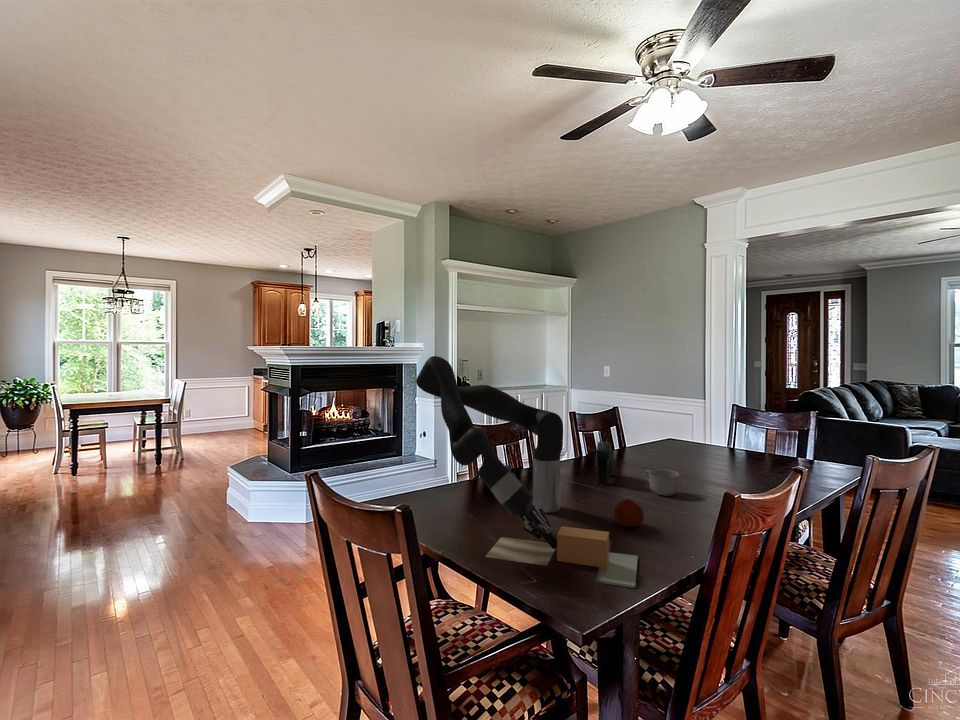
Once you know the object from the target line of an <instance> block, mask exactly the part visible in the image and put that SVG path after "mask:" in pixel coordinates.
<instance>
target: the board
mask: <svg viewBox="0 0 960 720" xmlns="http://www.w3.org/2000/svg"><path fill="white" fill-rule="evenodd" d="M556 550H557V548H555V549H553V548H552V547H551V546H550V545H549V544H548V543H547V542H542V541H535V540H527V539H521V538H513V537H506V536H505V537H503V536H501V537H500V538H499V539H498V540H497V541H496V543H495V544H494V545H493V546H492V547H491V549H490V550H489V551H488V552H487V554H485V558H488V559H489V558H491V559H497V560H503V561H511V562H518V563H524V564H531V565H538V566H546V567H548V565H549V563H550V561H551V560H552V558H553V555H554V553H555V552H556Z"/></svg>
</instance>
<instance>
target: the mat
mask: <svg viewBox="0 0 960 720" xmlns="http://www.w3.org/2000/svg"><path fill="white" fill-rule="evenodd" d="M638 560H639V559H638V555H633V554H625V553H618V552H610V551H609V563H608V568H607V572H606V571H600V570H599V569H598V570H597V574H596V578H595V583H598V584H599V583H600V584H604V585H610V586H611V585H613V586H618V587H619V586H620V587H625V588H631V589H636V584H637V583H636V580H637V571H638Z"/></svg>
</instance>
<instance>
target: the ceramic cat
mask: <svg viewBox="0 0 960 720" xmlns="http://www.w3.org/2000/svg"><path fill="white" fill-rule="evenodd" d="M606 436H607V432H604V434H603V441H598V442H597V445H596V453H595V464H596V469H597V483H598V485H600V484H606V485H605V486H607V485H608V484H609V477H611V476H612V469H613V459H614V455H613V446H612V444H611V442H610V439H609V438H606V439H605V437H606Z"/></svg>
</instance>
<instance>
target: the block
mask: <svg viewBox="0 0 960 720" xmlns="http://www.w3.org/2000/svg"><path fill="white" fill-rule="evenodd" d="M556 538H557V548H556V561H557V562H564V563H568V564H569V563H570V564H576V565H583V566H591V567H596V568H598V570H600V571H606V572H607V568H608V563H609V552H610V531H604V530H603V531H602V530H597V529H596V530H595V529H587V528H579V527H571V526H563V525H562V526H560V528H559V530H558V532H557V535H556Z"/></svg>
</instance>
